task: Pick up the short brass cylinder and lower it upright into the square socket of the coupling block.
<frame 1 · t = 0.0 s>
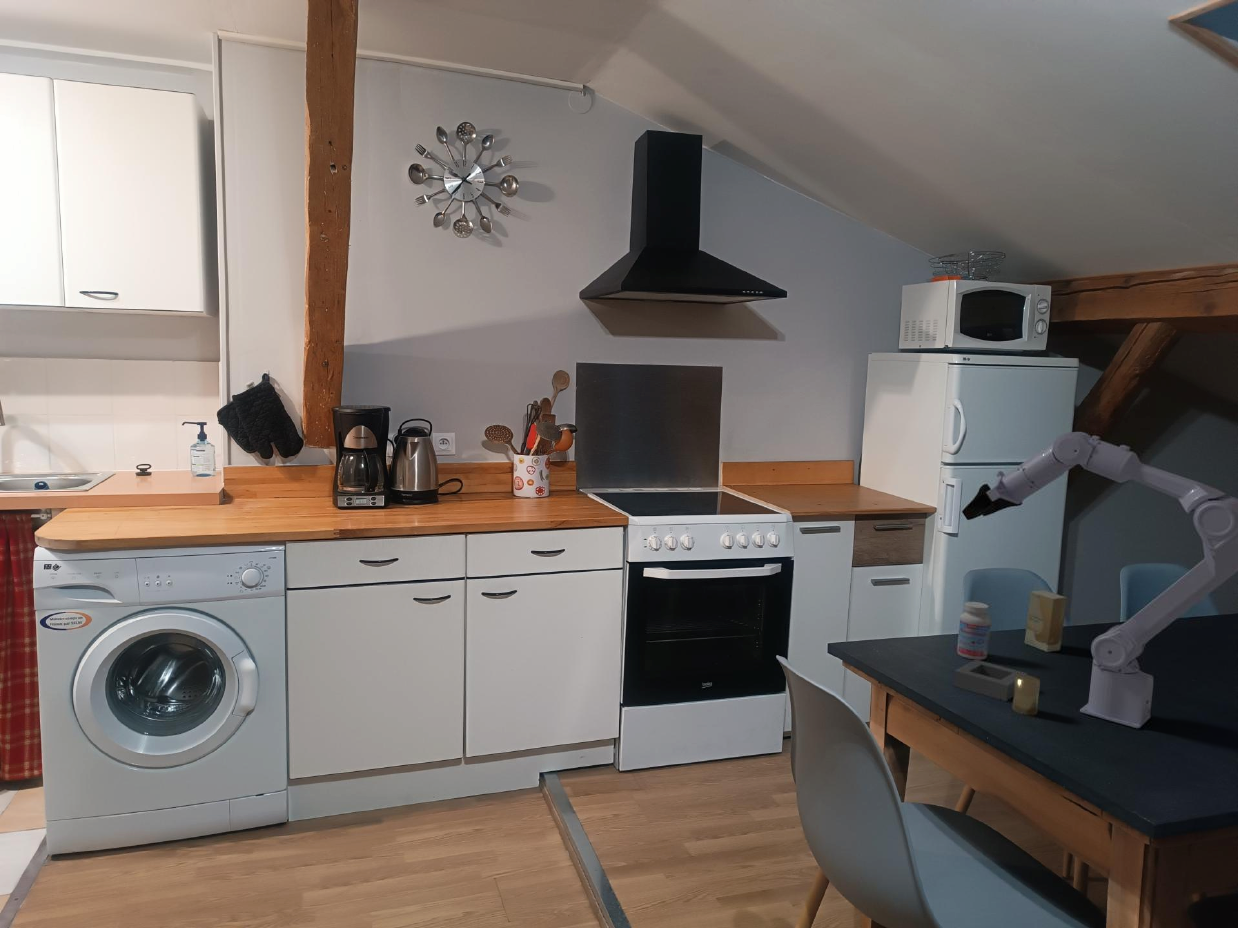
hand: (973, 513, 172), 32 cm above the table, tool tilted 50°, fingers open, 7 cm apart
pill bottle: (971, 656, 186), on the table
brass cylinder: (1024, 710, 156), on the table
coupling block: (989, 686, 167), on the table
skincare box: (1042, 647, 194), on the table
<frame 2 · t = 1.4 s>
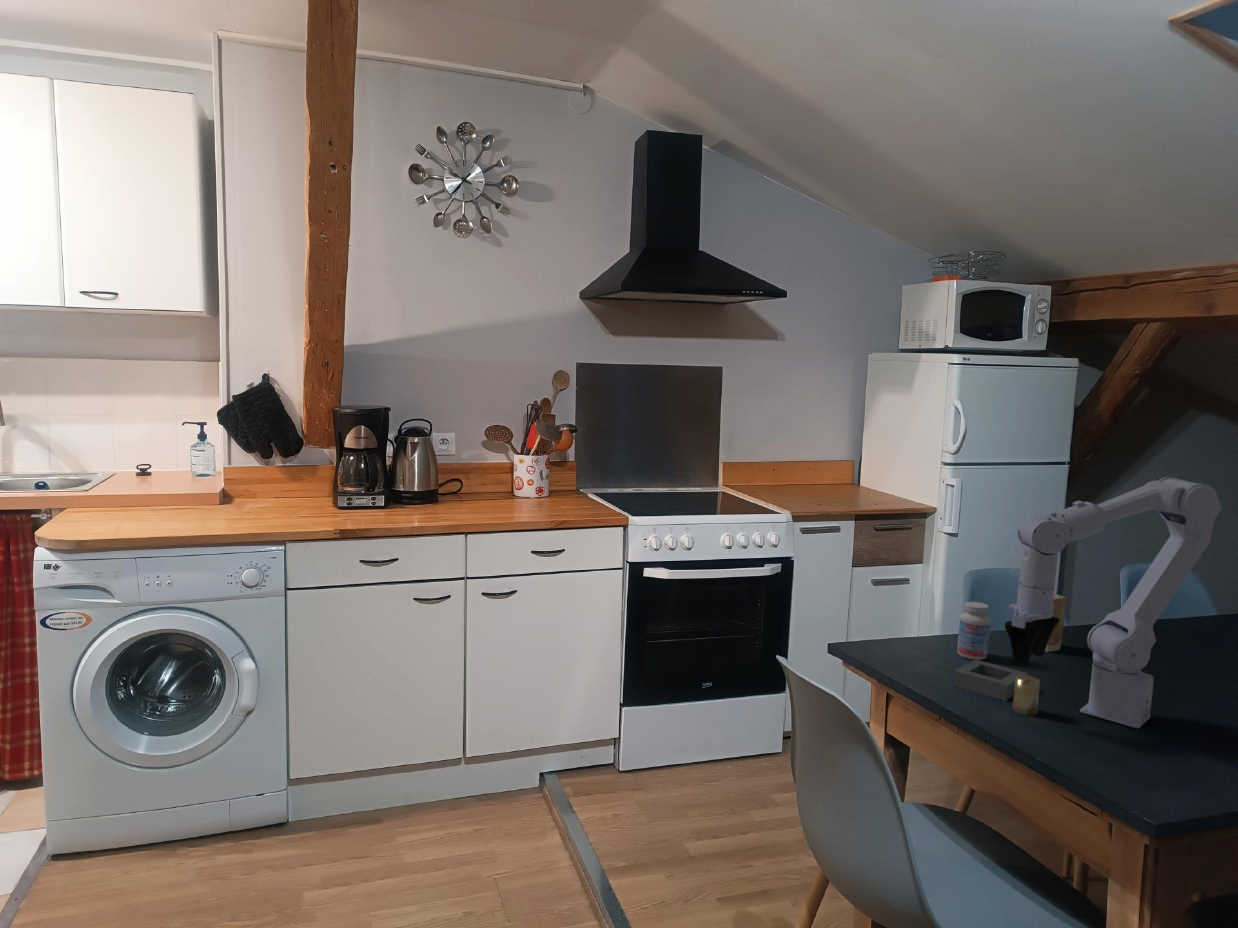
hand: (1028, 659, 155), 10 cm above the table, tool pointing down, fingers open, 7 cm apart
nothing on the table moved.
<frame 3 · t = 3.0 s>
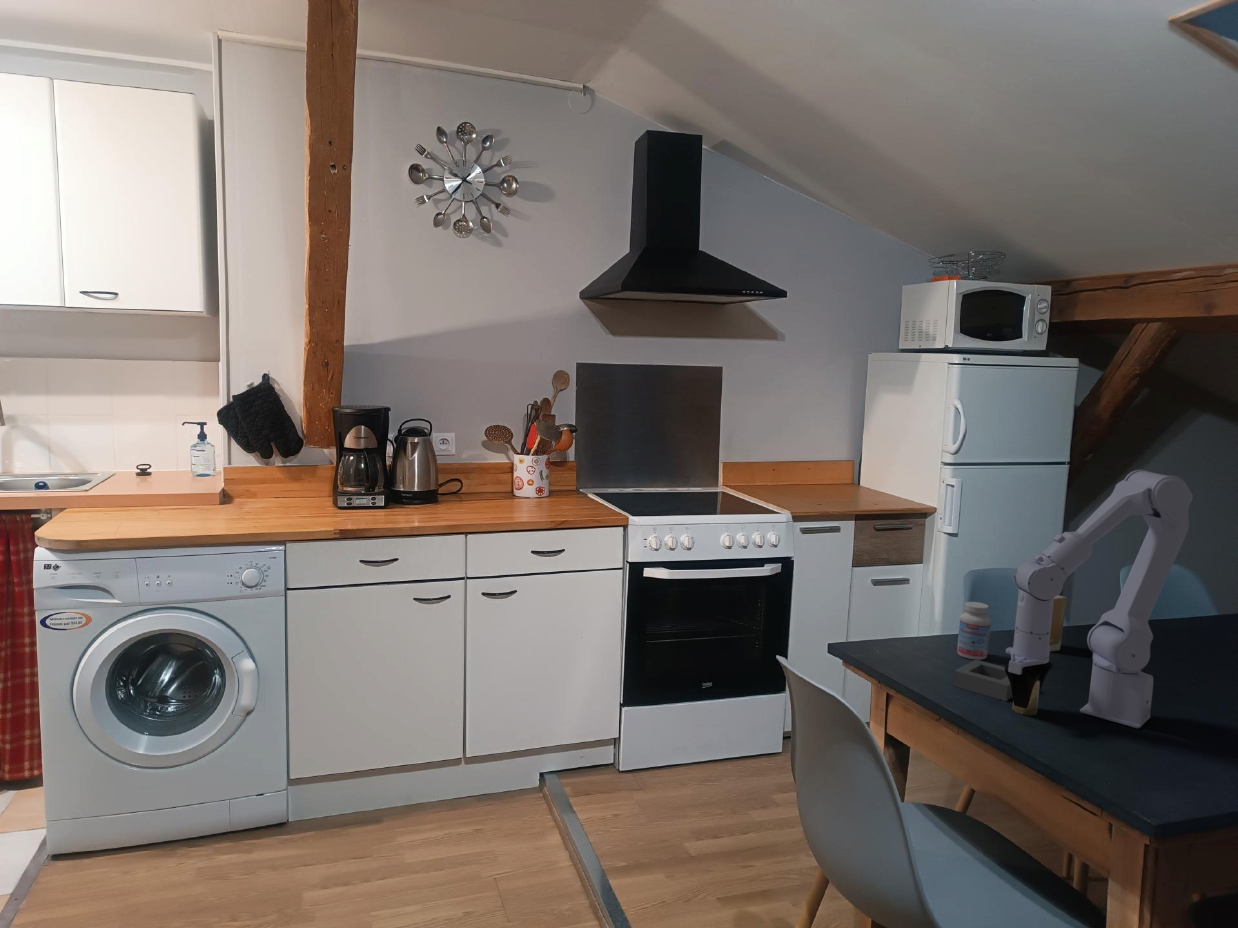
hand: (1025, 703, 156), 1 cm above the table, tool pointing down, fingers closed on brass cylinder, 4 cm apart
brass cylinder: (1024, 710, 156), on the table, touching gripper
everything else where it was.
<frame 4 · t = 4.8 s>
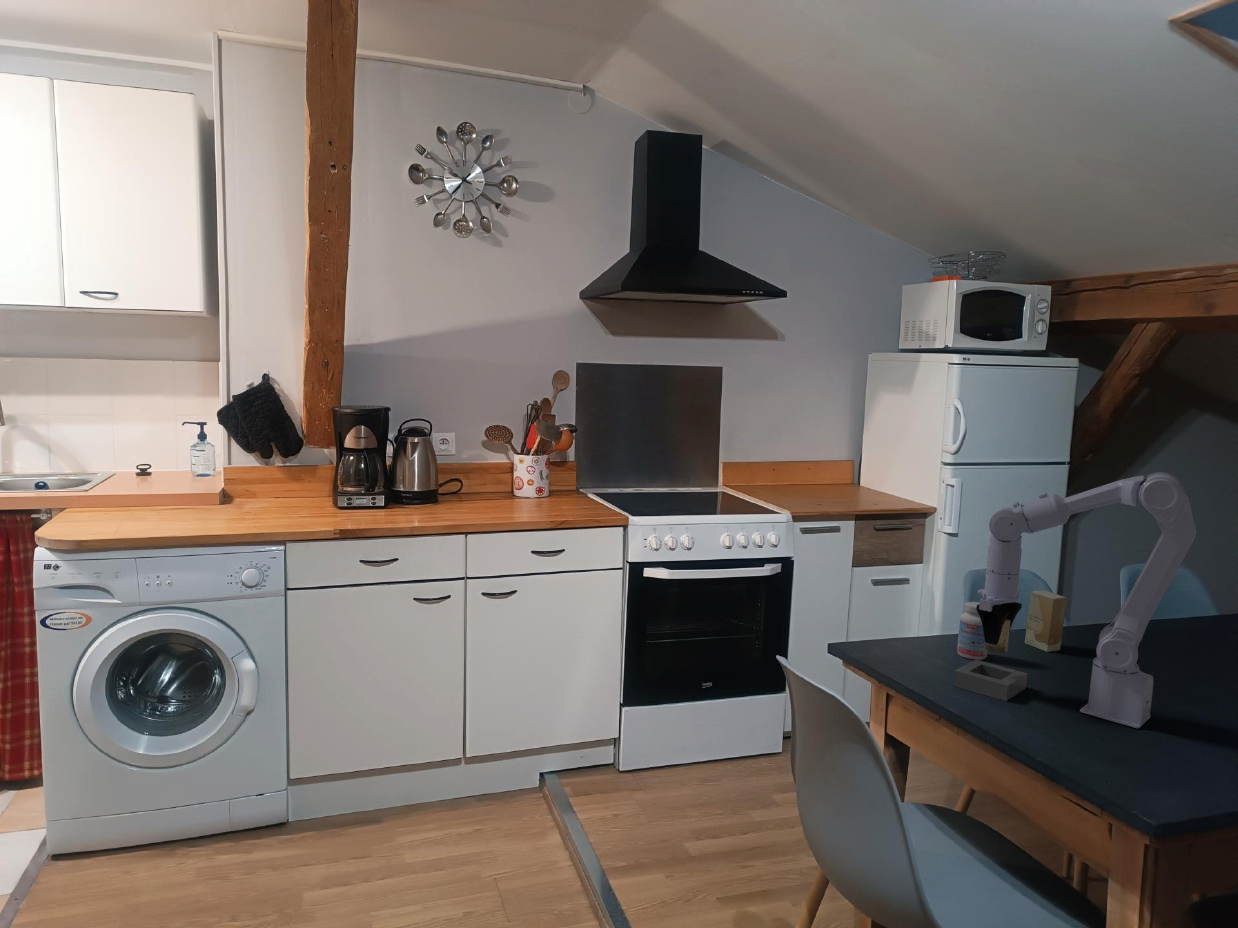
hand: (995, 640, 166), 9 cm above the table, tool pointing down, fingers closed on brass cylinder, 4 cm apart
brass cylinder: (995, 649, 166), point 8 cm above the table, touching gripper
everything else where it was.
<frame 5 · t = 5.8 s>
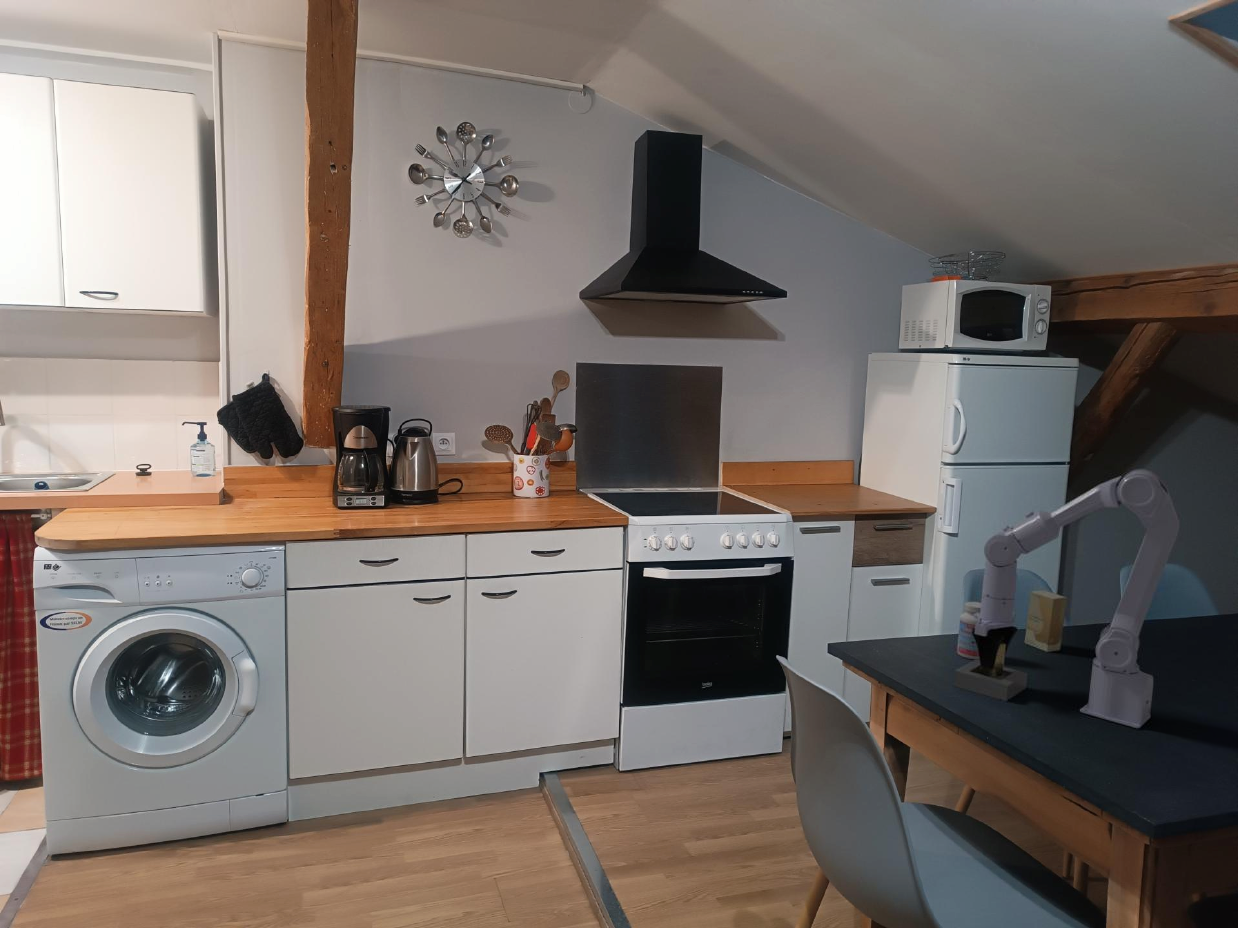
hand: (991, 664, 167), 4 cm above the table, tool pointing down, fingers closed on brass cylinder, 4 cm apart
brass cylinder: (991, 672, 167), point 3 cm above the table, touching gripper
everything else where it was.
when the fingers open (4 cm above the table, at t = 6.7 s): brass cylinder drops 2 cm, resting in coupling block.
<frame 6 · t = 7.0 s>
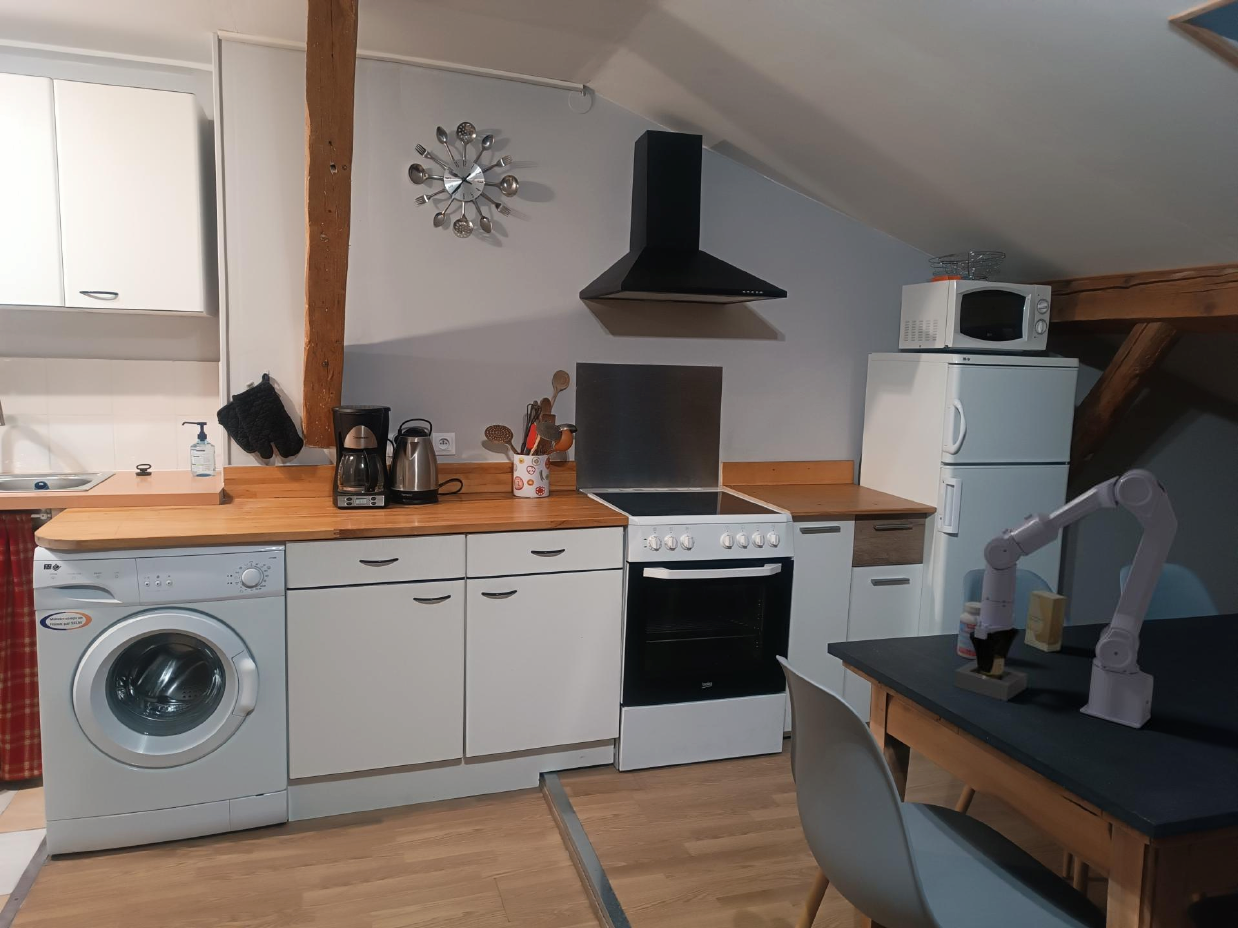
hand: (991, 667, 167), 4 cm above the table, tool pointing down, fingers open, 6 cm apart
brass cylinder: (990, 687, 167), resting in coupling block
everything else where it was.
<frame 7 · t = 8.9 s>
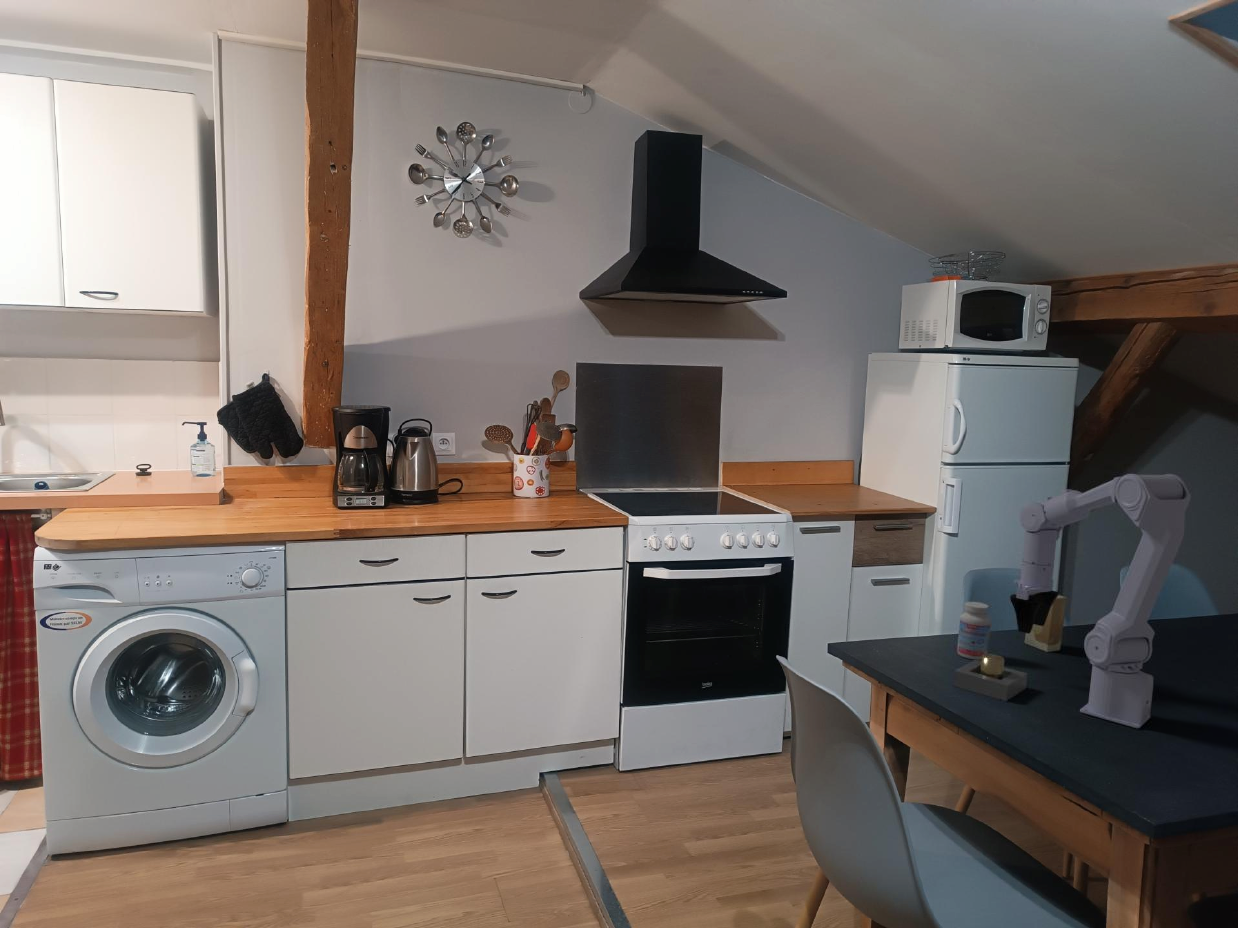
hand: (1031, 628, 175), 9 cm above the table, tool pointing down, fingers open, 7 cm apart
nothing on the table moved.
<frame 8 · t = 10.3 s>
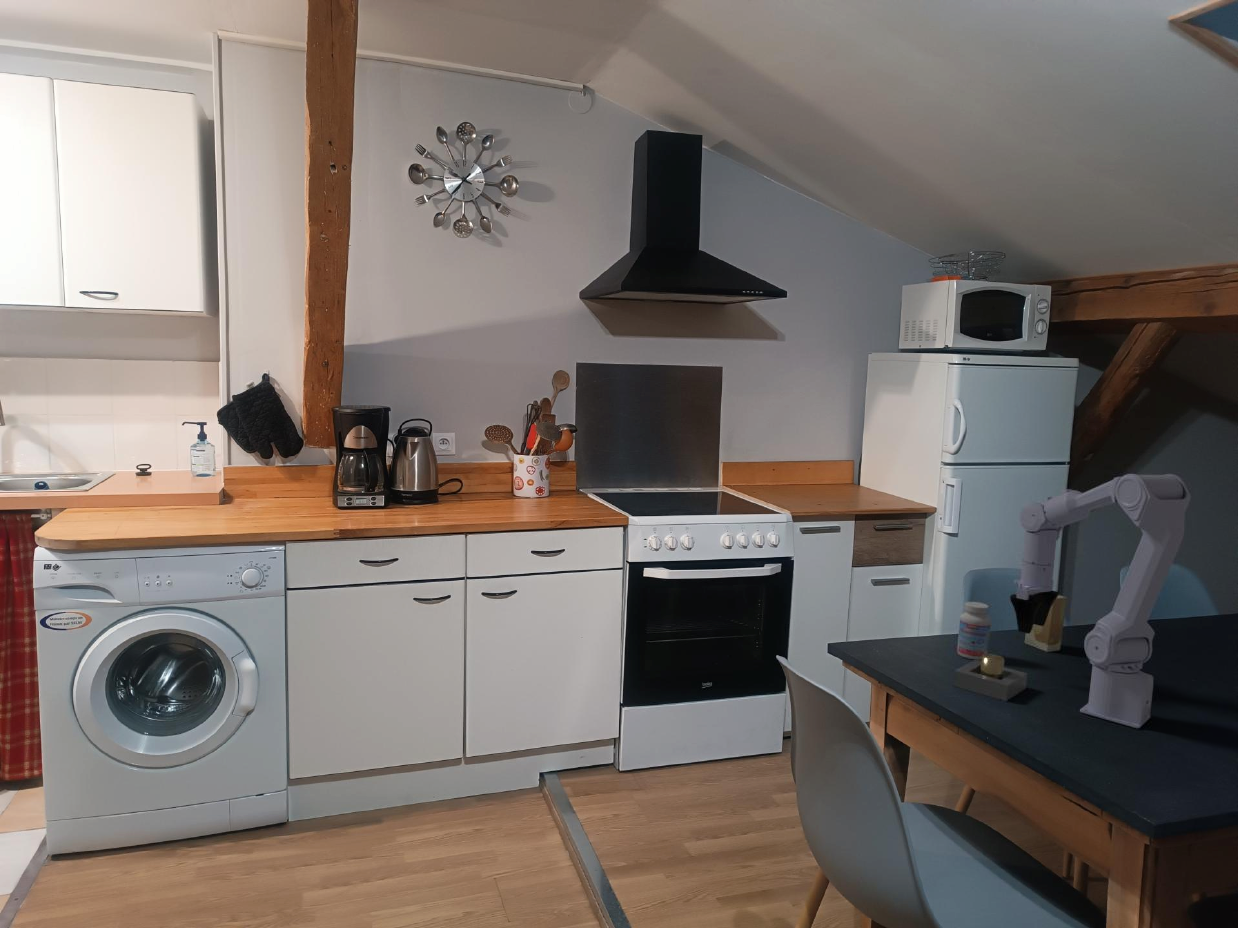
hand: (1031, 628, 175), 9 cm above the table, tool pointing down, fingers open, 7 cm apart
nothing on the table moved.
at the end: brass cylinder 0.1 cm off-centre on the coupling block, point 0.0 cm above the coupling block's base; brass cylinder tilted 0°; the gripper is holding nothing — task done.
